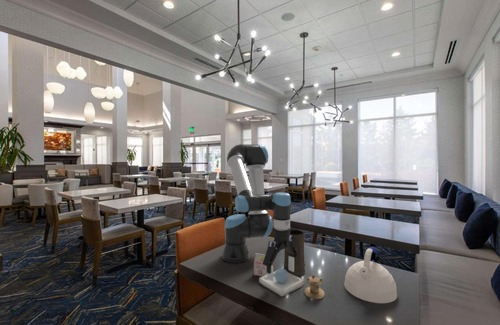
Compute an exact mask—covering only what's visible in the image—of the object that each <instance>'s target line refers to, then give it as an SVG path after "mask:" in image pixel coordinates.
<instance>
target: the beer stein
mask: <svg viewBox="0 0 500 325" xmlns="http://www.w3.org/2000/svg"><path fill="white" fill-rule="evenodd" d="M305 234H306V233H305V231H303V230H301V229H290V236H293V237H294V243H295V245H296V248H297V251H298V254H296V255H297V257H295V262H294V272H292V271H290V270H288V267H289V256H291V255H290V254H289V253H288V251H287V250H286V249H284V260H283V269H285V270H286V271H287V272H288V273H290V274H292V275H294V276H296V277H299V276H303V275H304V274H306V263H305V237H306V235H305ZM288 244H289V242H288ZM289 245H290V244H289ZM290 248H291V247H290Z"/></svg>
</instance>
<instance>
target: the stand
mask: <svg viewBox="0 0 500 325" xmlns="http://www.w3.org/2000/svg"><path fill="white" fill-rule="evenodd" d="M306 281H307V283H308V284H309V286H308V287H306V288H304V294H305V296H306V297H307V298H310V299H313V300H321V299H323V298H324V297H326V296H325V295H326V294H325V291H324V290H323V289H322V288H320V286H321V285H322V284H323V278H322V277H317V276H315V274H311V276H308V277H306Z"/></svg>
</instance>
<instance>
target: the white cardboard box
mask: <svg viewBox="0 0 500 325" xmlns="http://www.w3.org/2000/svg"><path fill="white" fill-rule="evenodd" d="M265 255H266V254H264V253H257V252H255V253H254V258H253V276H257V277H263V276H265V275H267V266H266V265H264V264H263V260H264V258H265ZM269 263H270V262H269Z"/></svg>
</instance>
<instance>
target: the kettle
mask: <svg viewBox="0 0 500 325" xmlns="http://www.w3.org/2000/svg"><path fill="white" fill-rule="evenodd" d="M373 253H375V254H378V253H379V251H378V249H377V248H376V247H375V246H370V247H368V248H366V250H365V254H364V257H363V260H360V261H357V262H355V263H353V264H352V265H350V267H349V268H348V269H347V271H346V274H345V278H344V284H343V285H344V289H346V291H348V292H349V294H351V295H352V296H353V297H355V298H358V299H360V300H362V301H366V302H369V303H374V304H389V303H392V302H394V301H396V300H397V298H398V293H397V291H398V290H397V284H396V281H395V279H394V278H393V277H394V276H393V275H392V274H391V273H390V272H389V271H388V270H387V268H385V266H383V265H382V264H380V263H377V262H375V259H372V260H371V258H372V254H373Z"/></svg>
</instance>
